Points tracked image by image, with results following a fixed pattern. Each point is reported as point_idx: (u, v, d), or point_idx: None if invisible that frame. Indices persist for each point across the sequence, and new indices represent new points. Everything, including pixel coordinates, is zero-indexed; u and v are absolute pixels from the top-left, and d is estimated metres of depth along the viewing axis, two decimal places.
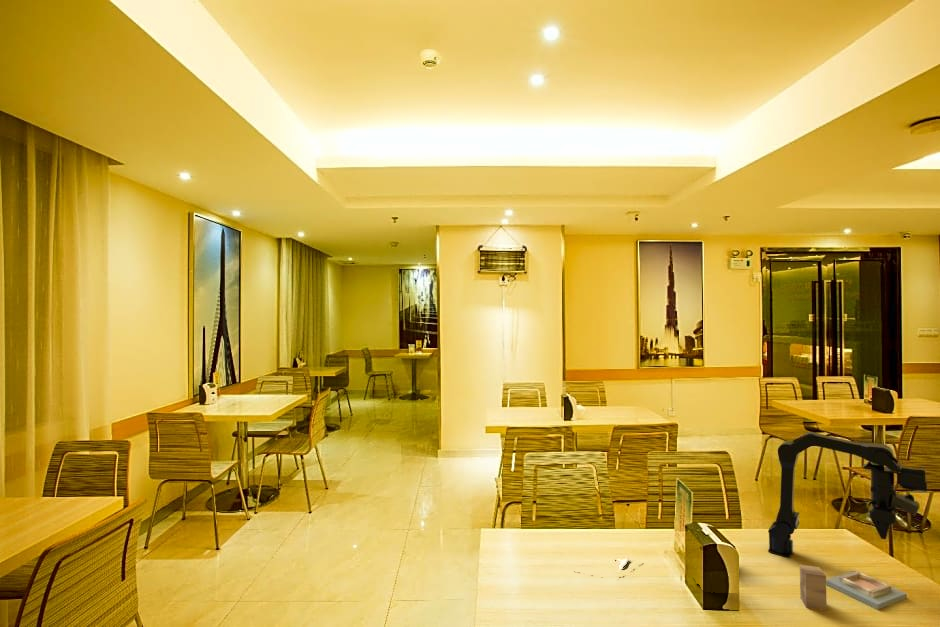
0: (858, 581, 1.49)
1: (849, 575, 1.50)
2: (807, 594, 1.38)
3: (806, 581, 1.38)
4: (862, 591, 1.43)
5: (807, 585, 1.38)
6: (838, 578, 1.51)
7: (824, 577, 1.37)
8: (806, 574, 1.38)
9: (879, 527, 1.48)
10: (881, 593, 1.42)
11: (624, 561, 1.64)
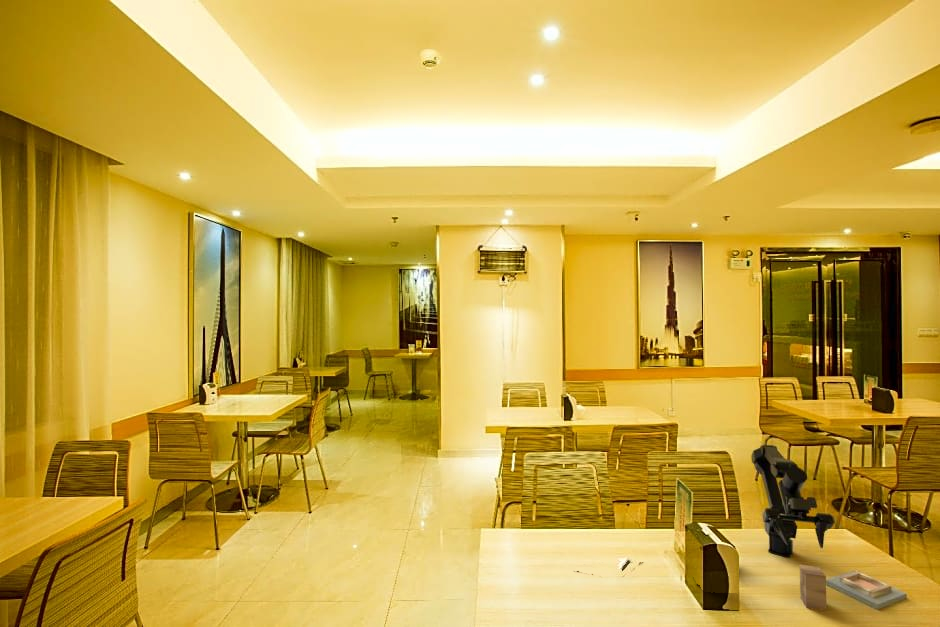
0: (858, 581, 1.49)
1: (849, 575, 1.50)
2: (807, 594, 1.38)
3: (806, 581, 1.38)
4: (862, 591, 1.43)
5: (807, 585, 1.38)
6: (838, 578, 1.51)
7: (824, 577, 1.37)
8: (806, 574, 1.38)
9: (779, 532, 1.52)
10: (881, 593, 1.42)
11: (623, 560, 1.64)
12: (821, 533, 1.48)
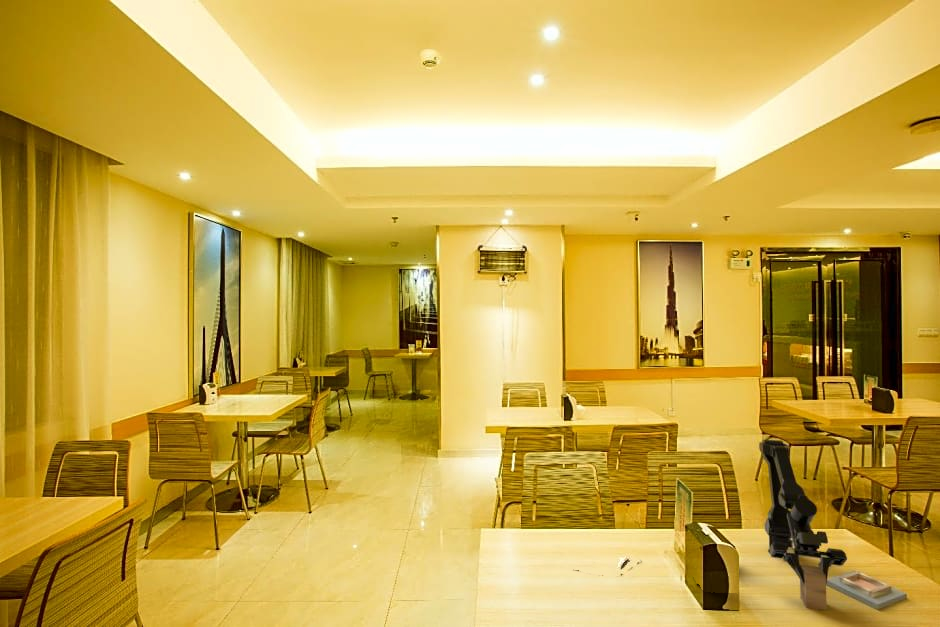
0: (858, 581, 1.49)
1: (849, 575, 1.50)
2: (807, 594, 1.38)
3: (806, 581, 1.38)
4: (862, 591, 1.43)
5: (807, 585, 1.38)
6: (838, 578, 1.51)
7: (824, 577, 1.37)
8: (806, 574, 1.38)
9: (795, 569, 1.43)
10: (881, 593, 1.42)
11: (622, 559, 1.65)
12: (824, 569, 1.40)
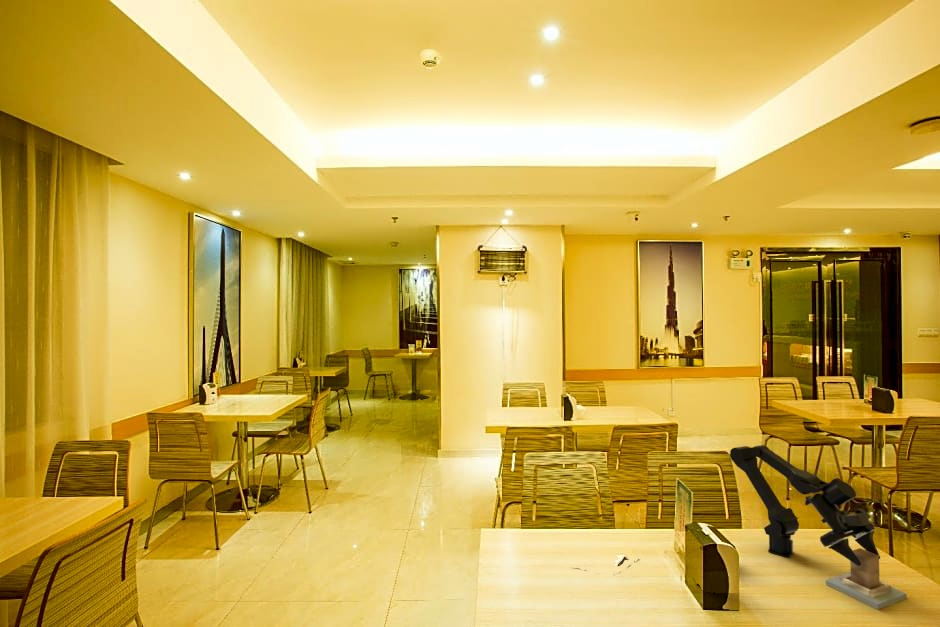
0: None
1: (849, 575, 1.50)
2: (870, 578, 1.43)
3: (869, 566, 1.43)
4: (862, 591, 1.43)
5: (869, 570, 1.43)
6: (838, 578, 1.51)
7: (878, 557, 1.45)
8: (869, 559, 1.43)
9: (845, 554, 1.46)
10: (881, 593, 1.42)
11: (620, 557, 1.66)
12: (872, 544, 1.48)
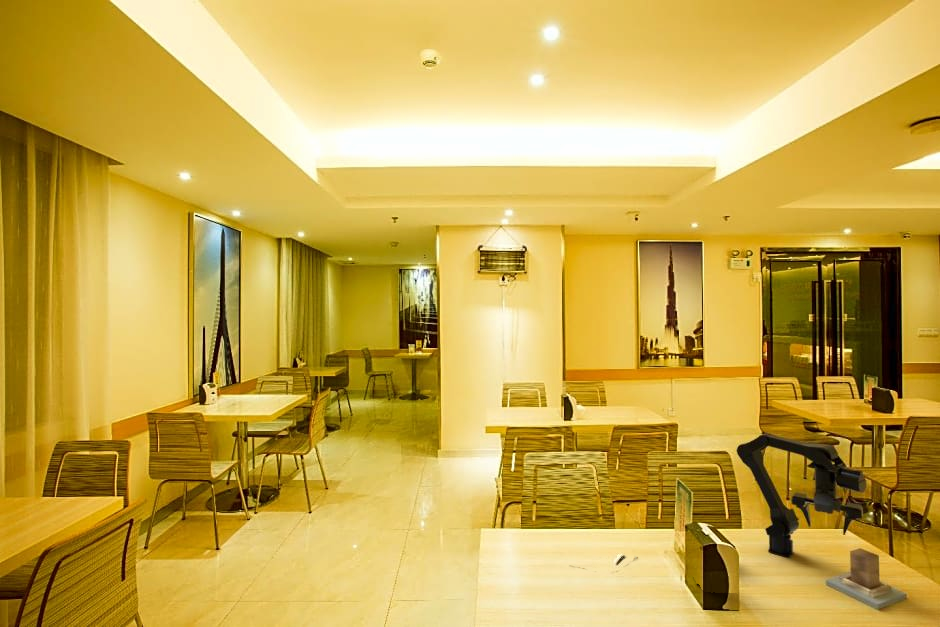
0: None
1: (849, 575, 1.50)
2: (870, 578, 1.43)
3: (869, 566, 1.43)
4: (862, 591, 1.43)
5: (869, 570, 1.43)
6: (838, 578, 1.51)
7: (878, 557, 1.45)
8: (869, 559, 1.43)
9: None
10: (881, 593, 1.42)
11: (618, 556, 1.67)
12: (845, 524, 1.54)
